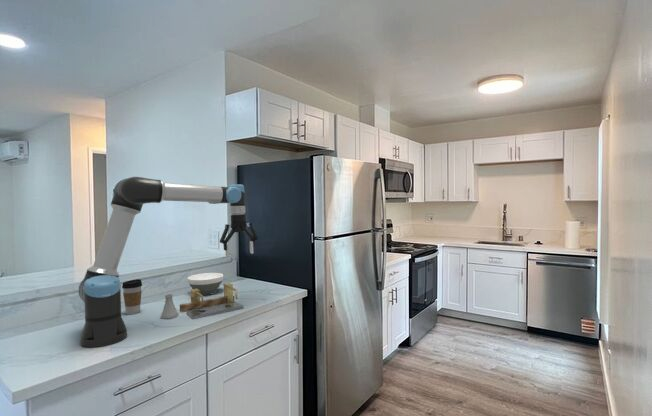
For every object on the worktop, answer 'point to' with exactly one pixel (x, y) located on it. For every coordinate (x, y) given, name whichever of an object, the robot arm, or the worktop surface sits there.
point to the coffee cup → (132, 296)
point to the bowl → (206, 282)
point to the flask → (169, 308)
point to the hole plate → (214, 310)
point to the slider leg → (229, 292)
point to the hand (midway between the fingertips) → (239, 255)
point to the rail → (203, 303)
